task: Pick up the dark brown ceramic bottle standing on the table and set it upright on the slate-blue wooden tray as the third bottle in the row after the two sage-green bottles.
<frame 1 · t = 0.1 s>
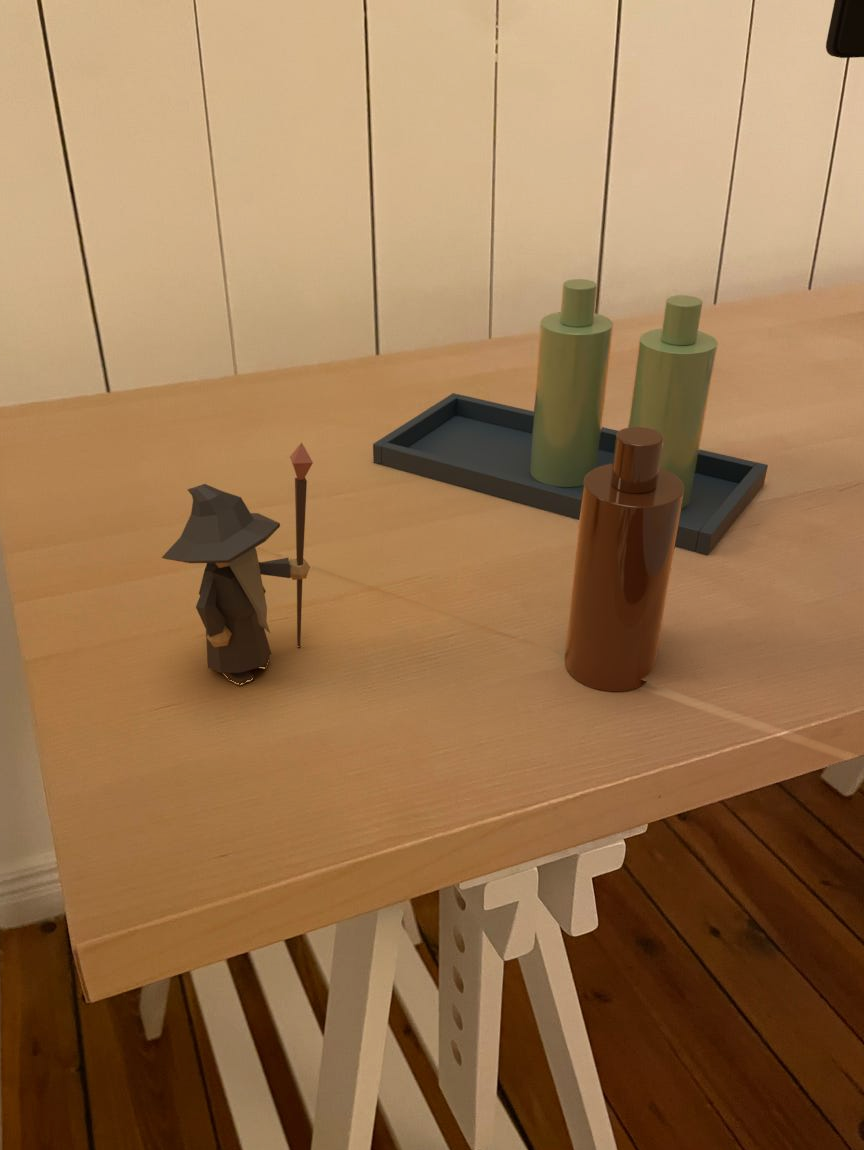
green bottle 2: (562, 472, 73), point 1 cm above the table, touching tray
wizard figurine: (253, 660, 57), on the table
green bottle 1: (654, 496, 70), point 1 cm above the table, touching tray
tray: (562, 480, 74), on the table
brown bottle: (608, 664, 55), on the table
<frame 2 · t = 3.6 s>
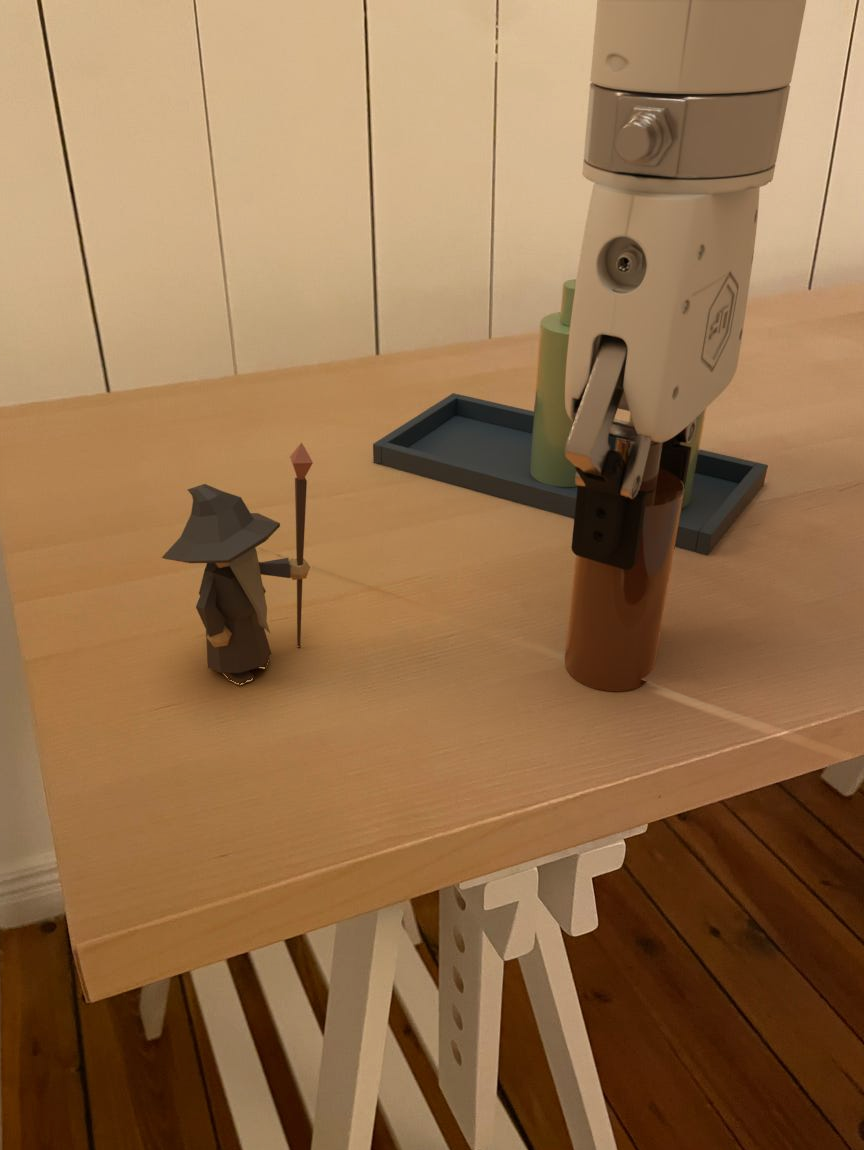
hand: (627, 532, 51), 8 cm above the table, tool pointing down, fingers closed on brown bottle, 4 cm apart
brown bottle: (608, 664, 55), on the table, touching gripper
everything else where it was.
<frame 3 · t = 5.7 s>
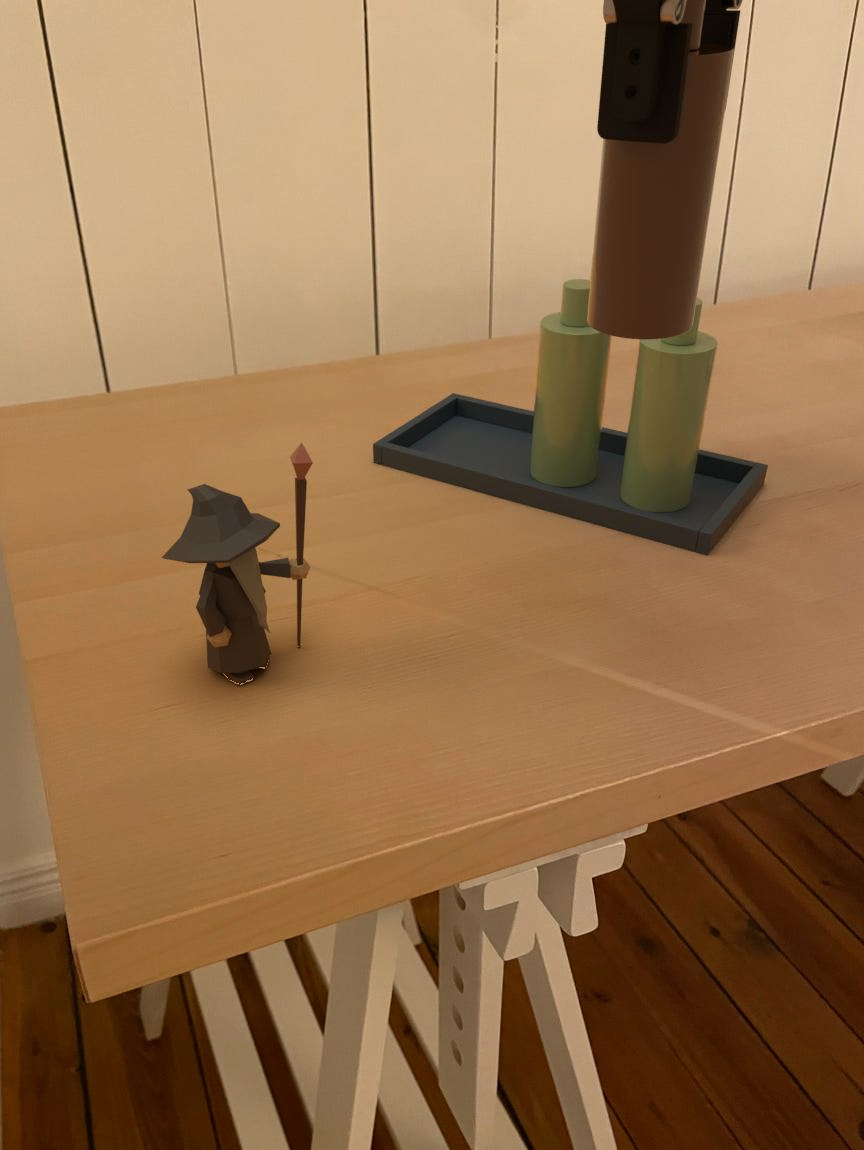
hand: (662, 123, 42), 26 cm above the table, tool pointing down, fingers closed on brown bottle, 4 cm apart
brown bottle: (639, 322, 47), point 18 cm above the table, touching gripper
everything else where it was.
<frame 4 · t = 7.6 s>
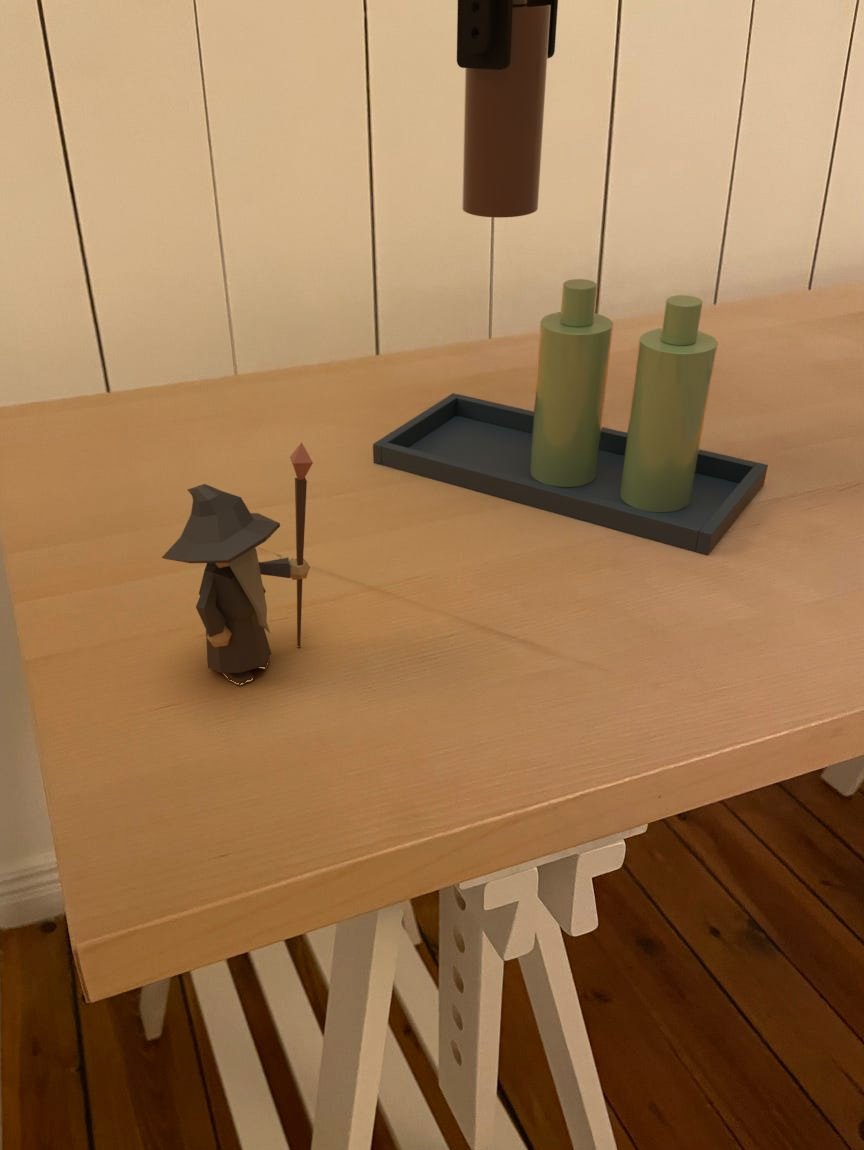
hand: (506, 58, 59), 27 cm above the table, tool pointing down, fingers closed on brown bottle, 4 cm apart
brown bottle: (499, 208, 64), point 18 cm above the table, touching gripper
everything else where it was.
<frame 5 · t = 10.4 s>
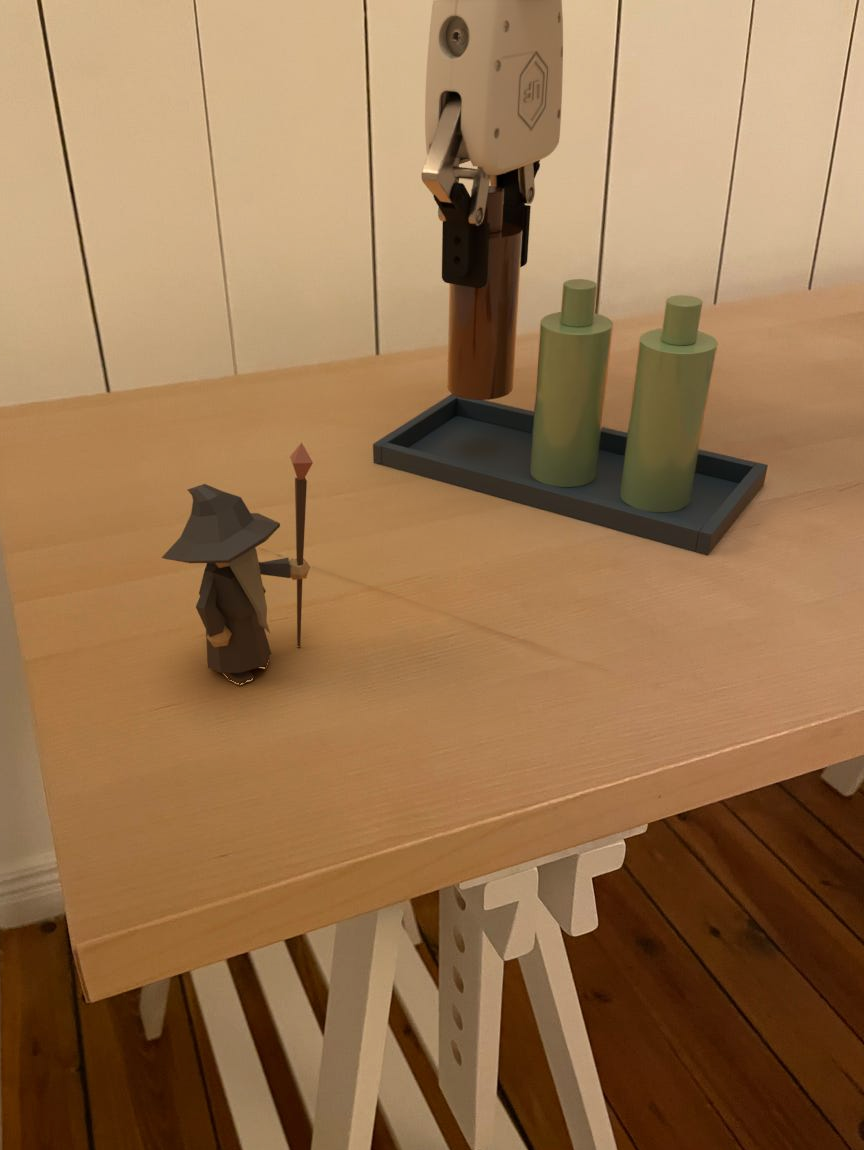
hand: (485, 271, 69), 14 cm above the table, tool pointing down, fingers closed on brown bottle, 4 cm apart
brown bottle: (480, 387, 74), point 6 cm above the table, touching gripper
everything else where it was.
when the fingers open (9 cm above the table, at t = 12.0 s): brown bottle stays where it is, resting on tray.
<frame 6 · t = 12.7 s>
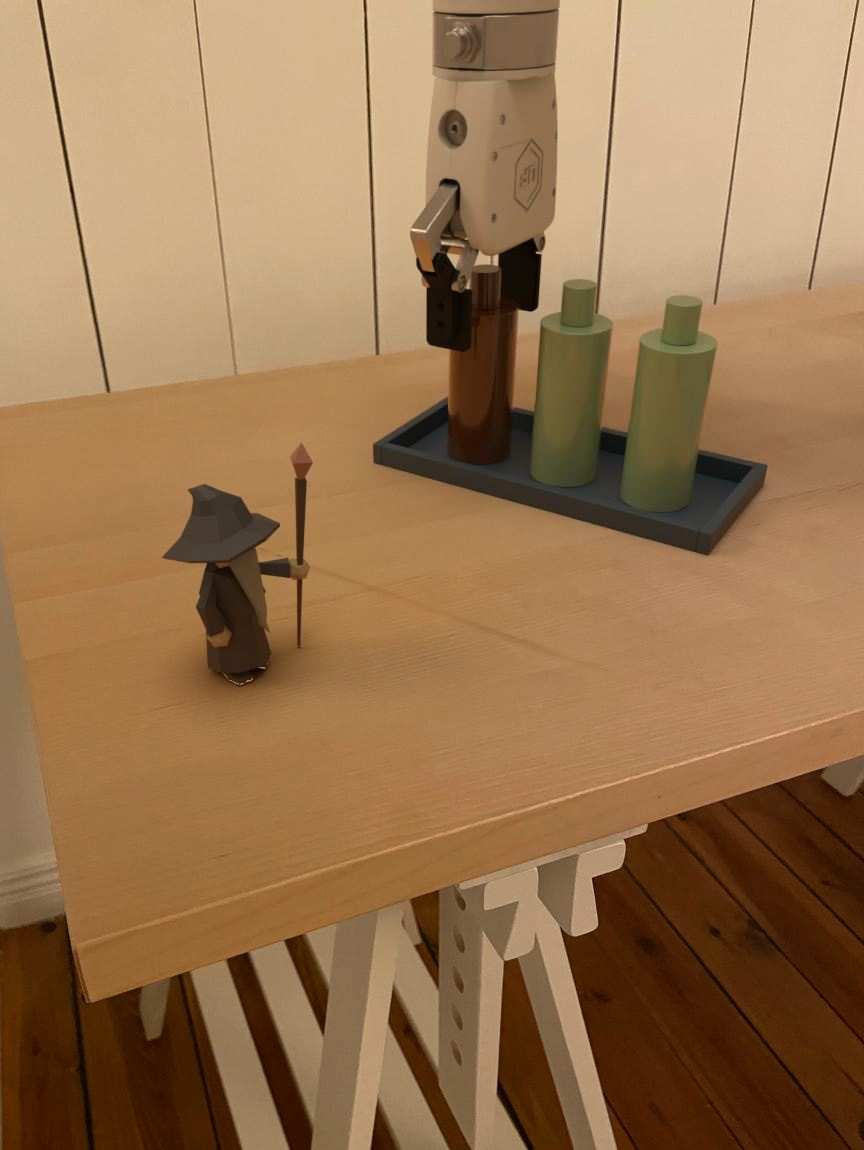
hand: (484, 326, 71), 10 cm above the table, tool pointing down, fingers open, 9 cm apart
brown bottle: (478, 451, 77), point 1 cm above the table, touching tray
everything else where it was.
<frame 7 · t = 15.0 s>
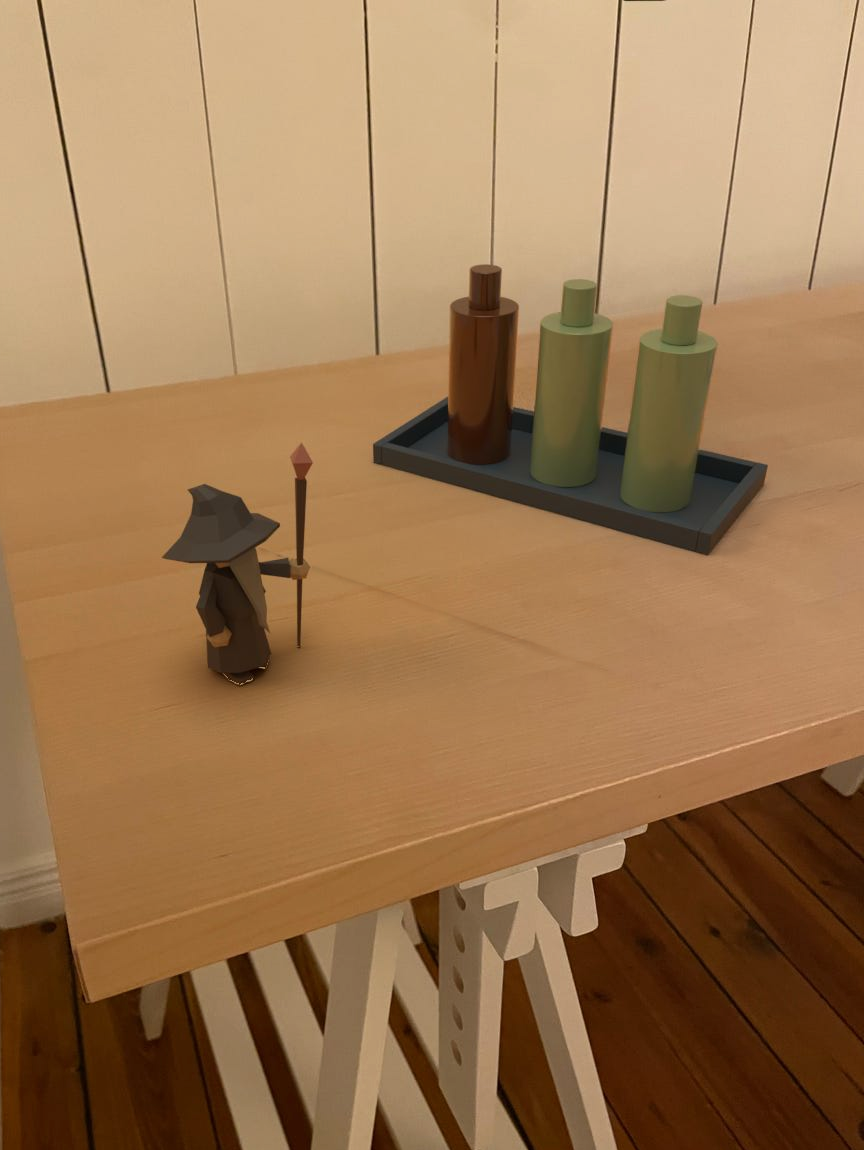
nothing on the table moved.
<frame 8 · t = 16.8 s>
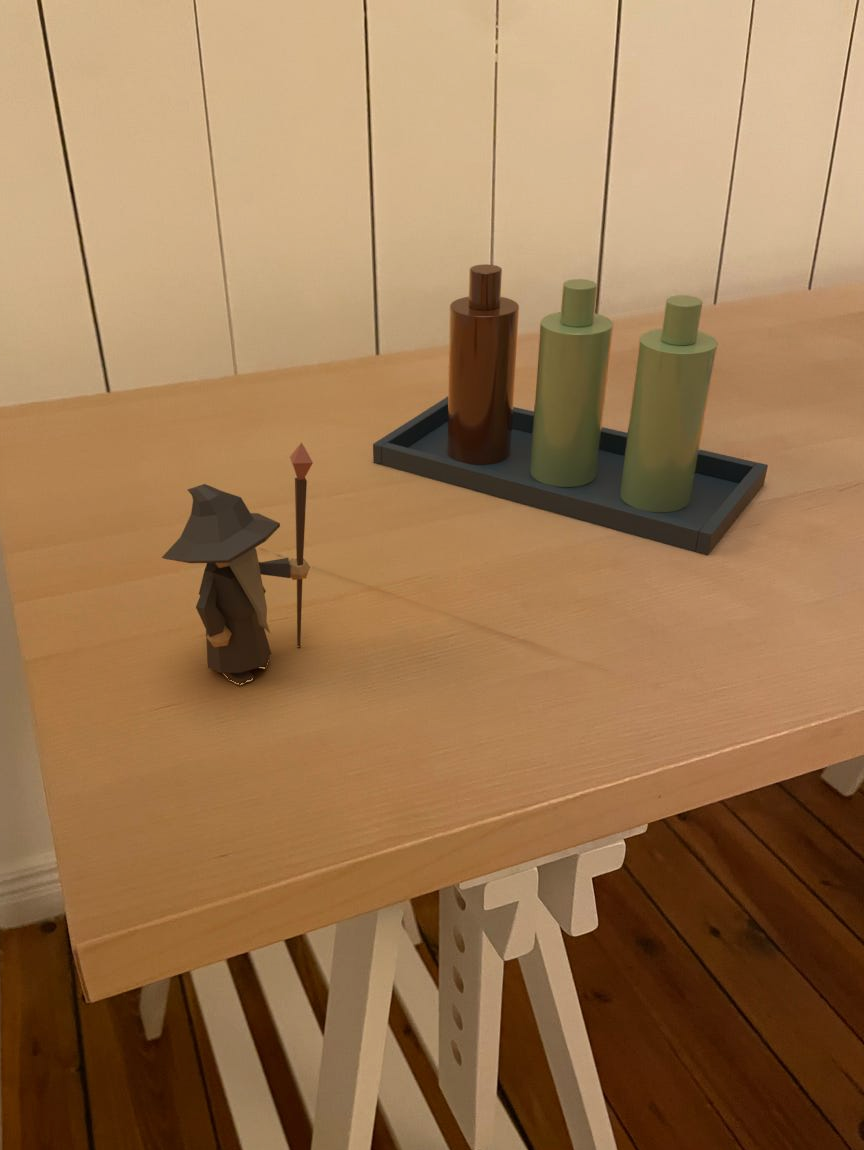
nothing on the table moved.
at the end: brown bottle 0.0 cm from the target spot in the tray, point 0.6 cm above the tray's base; brown bottle tilted 0°; green bottle 2 moved 0.0 cm from its start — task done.
